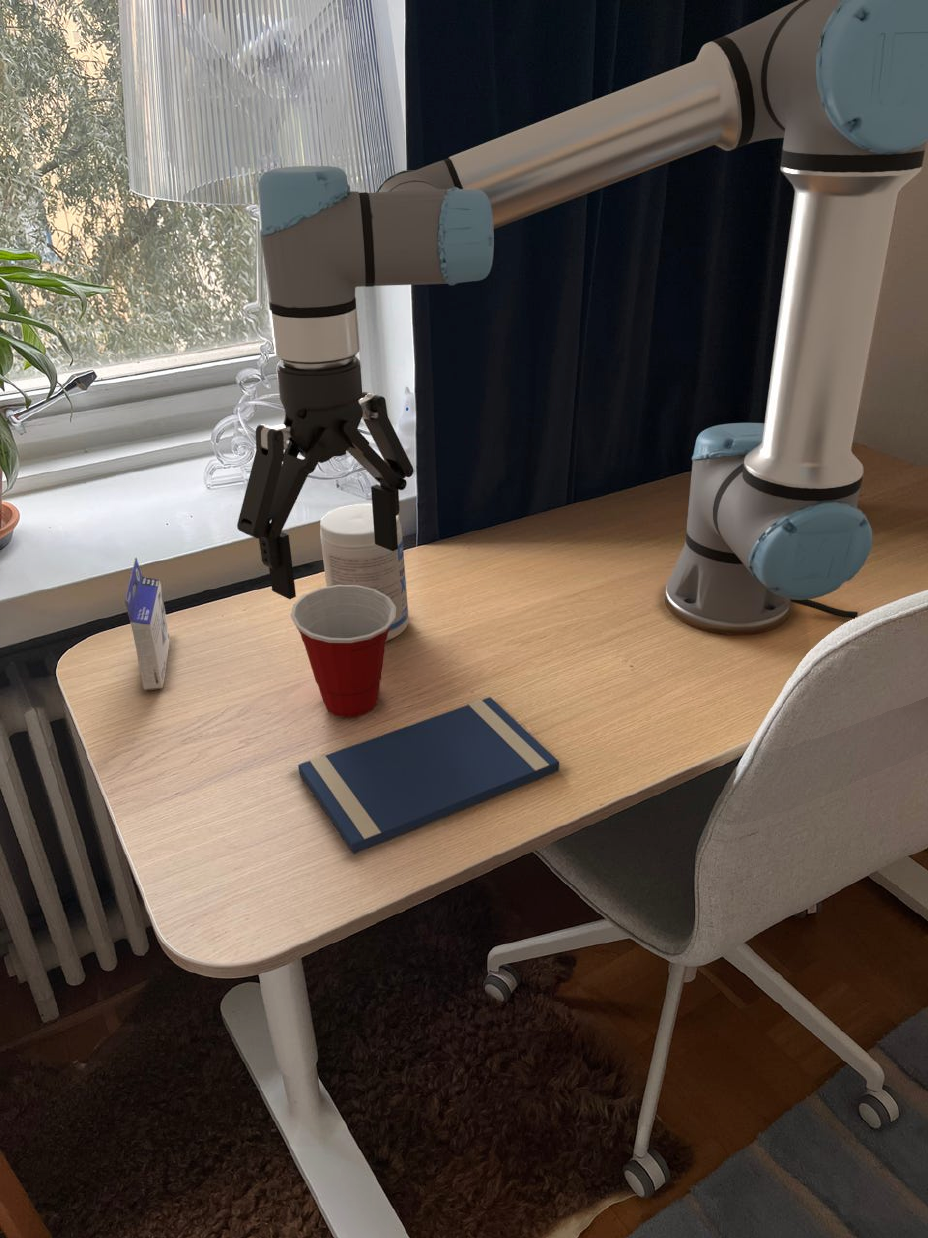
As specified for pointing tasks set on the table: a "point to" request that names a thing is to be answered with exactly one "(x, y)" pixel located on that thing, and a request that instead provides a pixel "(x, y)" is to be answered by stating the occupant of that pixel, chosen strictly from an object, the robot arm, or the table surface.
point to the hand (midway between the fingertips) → (337, 569)
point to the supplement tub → (364, 558)
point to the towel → (424, 772)
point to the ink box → (148, 627)
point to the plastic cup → (345, 643)
